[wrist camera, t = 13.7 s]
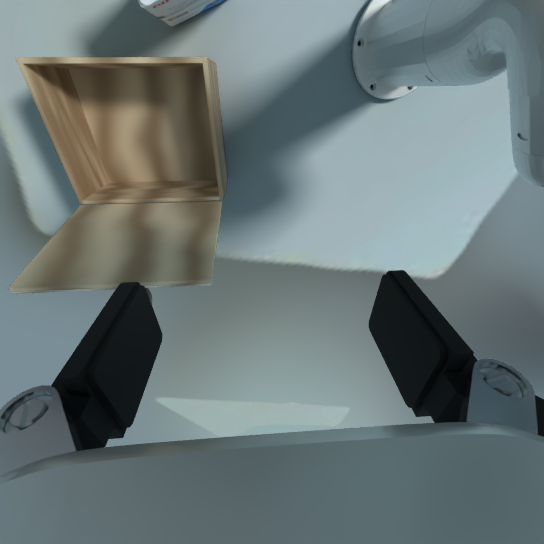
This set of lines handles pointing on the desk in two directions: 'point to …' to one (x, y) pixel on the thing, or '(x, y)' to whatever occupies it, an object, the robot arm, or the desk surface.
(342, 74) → the desk surface
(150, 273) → the wooden box lid
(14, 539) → the robot arm
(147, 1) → the ink box
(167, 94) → the wooden box
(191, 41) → the desk surface
